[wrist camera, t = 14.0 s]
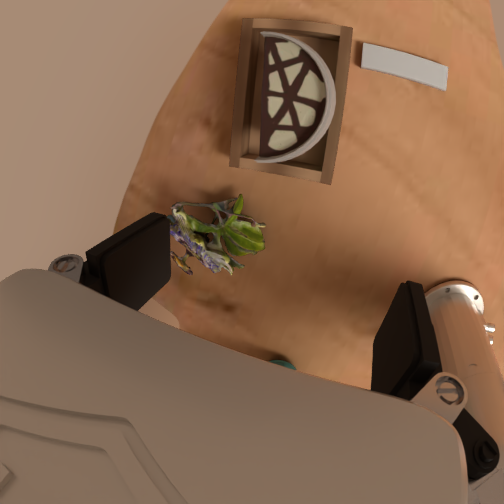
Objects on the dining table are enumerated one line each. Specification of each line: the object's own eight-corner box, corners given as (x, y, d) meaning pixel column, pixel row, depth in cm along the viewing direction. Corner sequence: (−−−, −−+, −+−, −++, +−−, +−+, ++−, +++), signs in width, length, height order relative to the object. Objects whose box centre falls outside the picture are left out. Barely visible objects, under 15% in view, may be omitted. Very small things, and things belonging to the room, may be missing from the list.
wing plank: (444, 68, 22) (448, 67, 21) (442, 91, 24) (446, 90, 22) (362, 45, 24) (363, 42, 23) (360, 68, 26) (361, 66, 25)
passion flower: (222, 221, 46) (150, 232, 39) (248, 168, 39) (165, 171, 32) (256, 280, 42) (179, 301, 35) (293, 229, 34) (202, 246, 27)
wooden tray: (351, 36, 24) (352, 27, 21) (332, 176, 33) (330, 185, 29) (253, 26, 26) (242, 18, 23) (240, 160, 35) (229, 166, 32)
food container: (332, 157, 31) (327, 177, 22) (279, 150, 32) (254, 167, 24) (340, 53, 25) (339, 30, 16) (284, 48, 26) (260, 26, 18)
